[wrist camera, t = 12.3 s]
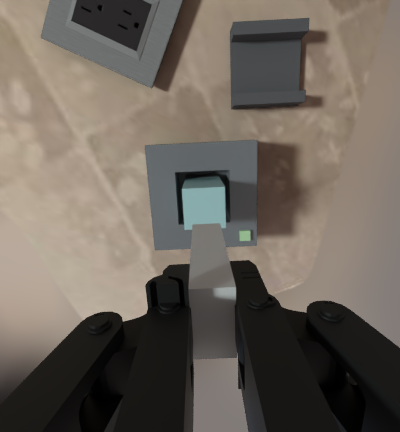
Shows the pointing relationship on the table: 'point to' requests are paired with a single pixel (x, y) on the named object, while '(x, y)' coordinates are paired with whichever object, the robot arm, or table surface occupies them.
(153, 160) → the port block
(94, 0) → the electrical outlet
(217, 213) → the plug
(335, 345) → the robot arm
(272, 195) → the table surface
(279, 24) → the grey u-channel bracket
